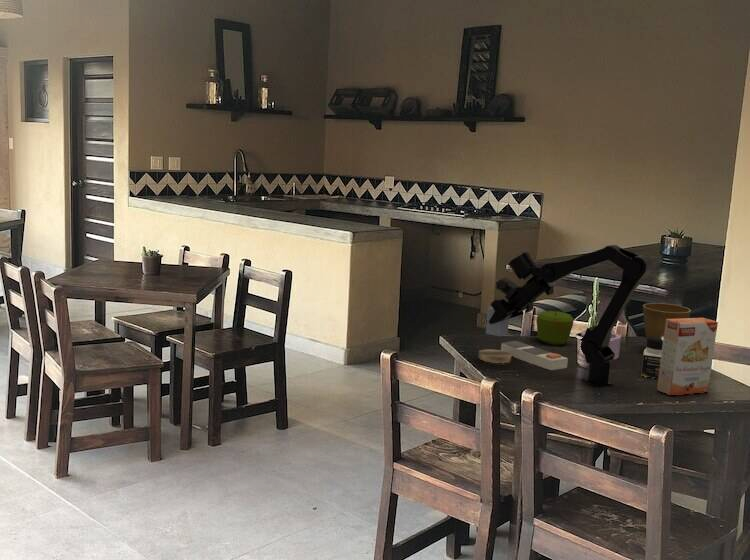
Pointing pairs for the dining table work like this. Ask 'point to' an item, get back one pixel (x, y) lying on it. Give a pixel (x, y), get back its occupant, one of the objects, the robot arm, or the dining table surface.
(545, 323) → the apple
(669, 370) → the cracker box
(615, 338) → the clip
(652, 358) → the medicine bottle
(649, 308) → the plant pot
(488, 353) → the trivet
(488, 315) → the grey cylinder
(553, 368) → the power strip
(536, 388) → the dining table surface
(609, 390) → the dining table surface
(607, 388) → the dining table surface
